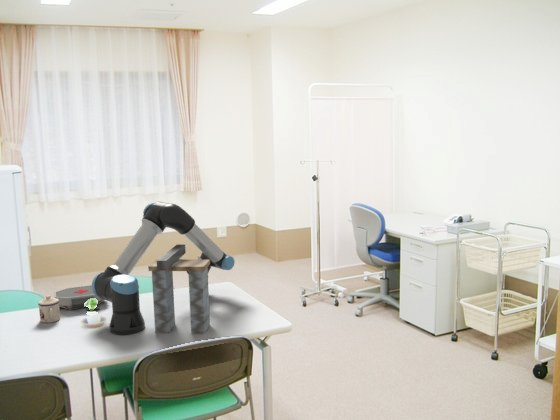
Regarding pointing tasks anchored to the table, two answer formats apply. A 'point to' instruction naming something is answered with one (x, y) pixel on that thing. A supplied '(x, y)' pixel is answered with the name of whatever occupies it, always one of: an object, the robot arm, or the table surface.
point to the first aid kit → (75, 297)
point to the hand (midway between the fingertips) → (184, 259)
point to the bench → (165, 295)
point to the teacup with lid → (49, 309)
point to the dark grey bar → (170, 257)
